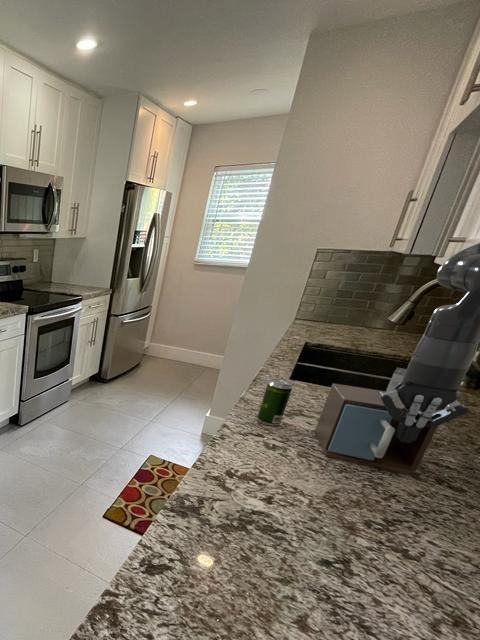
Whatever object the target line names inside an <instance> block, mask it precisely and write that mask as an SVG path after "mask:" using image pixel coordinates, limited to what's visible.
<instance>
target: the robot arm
mask: <svg viewBox="0 0 480 640" xmlns="http://www.w3.org/2000/svg"><path fill="white" fill-rule="evenodd" d="M436 281H437V283H438V284H439V285H440V286H441V287H442V288H444V289H446V290H449V291H454V292H461V293H466V294H465V295H464V297H463V298H462V299H461V300H460V301H459V302H458V303H456V304H447V305H446V304H445V305H441V306H438V307H436V309H435V310H434V311H433V313H432V314H431V317H430V318H429V321H428V324H427V326H426V328H425V331H424V333H423V335H422V337H421V339H420V340H419V342H418V343H417V345H416V346H415V349H414V350H413V352H412V354H411V358H410V361H409V363H408V366H407V368H406V369H407V370H406V372H405V375H404V377H403V380H402V382H401V383H400V384H399V385H397V386H396V388H395V390H392V391H389V392H386V391H385V392H386V393H385V392H380V393H379V394H378V395H379V397H380V399H381V400H382V402H383V404H384V405H385V407H386V409H387V410H388V412H389V414H390V415H391V416H392V417H393V418H394V419H395V420H396V421H399V422H400V424H399V426H398V428H397V430H396V433H395V435H396V437H397V438H398V440H399V441H400V442H405V443H411V441H415V440H416V439H417V437H418V435H419V433H420V431H421V429H422V428H423V427H426V426H431V427H437V426H438V427H439V426H441V425H444V424H446V423H448V422H450V421H453V420H454V419H456V418H458V417H461V416H463V415H465V414H467V413H468V412H469V408H468V407H466V406H465V405H463V404H462V403H461V402H460V401H458V398H459V396H458V390H459V389H460V388H461V385H462V383H463V380H465V377H466V374H467V372H469V371H468V370H469V369H470V367H471V364H472V362H473V360H474V358H475V357H476V353H477V349H478V345H479V342H480V242H479V243H476V244H474V245H471V246H469V247H467V248H464V249H461V250H459V251H458V252H457V253H454V254H453V255H451V256H450V257H449V258H448V259H446V261H444V262H443V263H442V264H441V266H440V267H439V269H438V270H437V273H436ZM397 396H399V398H400V400H401V402H402V404H403V412H402V414H400V413H399V411H398V409H397V408H396V406H395V404H394V403H393V402H395V401H396V400H397V399H396V397H397ZM443 408H444V409H443ZM435 411H438V412H437V413H435V414H434V412H435ZM438 427H437V428H438Z"/></svg>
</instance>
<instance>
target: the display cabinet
mask: <svg viewBox="0 0 480 640" xmlns="http://www.w3.org/2000/svg"><path fill="white" fill-rule="evenodd" d="M380 392H385V393H386V390H378V389H372V388H365V387H359V386H353V385H345V384H340V383H332V384H331V386H330V389H329V391H328V394H327V397H326V400H325V402H324V405H323V408H322V411H321V413H320V416H319V418H318V421H317V424H316V427H315V429H314V432H313V433H314V435H315V439H316V440H317V442H318V444H319V446H320V448H321V450H322V452H323V454H324V456H325V457H326V458H330V459H334V460H335V459H336V460H339V461H342V462H343V461H344V462H349V463H354V464H356V465H363V466H367V467H370V468H371V467H372V468H375V469H381V470H384V471H389V472H394V473H399V474H403V475H408V476H413V477H417V478H419V477H421V476H420V475H421V472H420V470H418V468H419V466H420V463H421V461H422V460H423V457H424V456H425V453H426V451H427V449H428V447H429V445H430V443H431V441H432V439H433V437H434V436H435V433H436V431H437V429H438V427H439V426H437V427H431V426H426V427H423V428H422V429H421V431H420V433H419V435H418V437H417V439H416V440H415V441H411V443H405V442H400V441H399V440H398V438H397V437H396V435H395V433H396V430H397V428H398V426H399V424H400V422H399V421H396V420H395V419H394V418H393V417H392V420H391V422H390V425H391V427H393V428H394V429H395V432H394V434H393V436H392V439H391V441H390V443H389V445H388V447H387V450H386V452H385V454H384V456H383V457H382V458H377V457H375V458H374V461H372V460H368V459H363V458H358V457H354V456H349V455H344V454H340V453H335V452H330V451H328V448H329V446H330V443H331V441H332V438H333V436H334V433H335V430H336V428H337V425H338V423H339V420H340V418H341V415H342V412H343V410H344V407H345V405H346V404H347V405H353V406H359V407H365V408H370V409H376V410H382V411H388V410H387V409H386V407H385V405H384V404H383V402H382V400H381V399H380V397H379V395H378V394H379V393H380ZM396 399H397V400H396V401H395V402H393V403H394V404H395V406H396V408H397V409H398V411H399V413H400V414H402V412H403V404H402V402H401V400H400V398H399V396H397V397H396ZM437 412H439V410H437V411H435V412H434V414H435V413H437Z"/></svg>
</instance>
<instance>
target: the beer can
mask: <svg viewBox="0 0 480 640" xmlns="http://www.w3.org/2000/svg"><path fill="white" fill-rule="evenodd" d="M292 391H293V382H291V381H289V380H286V379H283V378H270V379H269V381H268V382H267V384H266V387H265V390H264V394H263V397H262V400H261V402H260V403H261V404H260V406H259V410H258V413H257V421H258V422H259V423H260V424H263V425H265V426H269V427H278V426H279V425H280V424H281V423H282V420H283V417H284V414H285V411H286V409H287V406H288V402H289V399H290V396H291V393H292Z"/></svg>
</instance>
